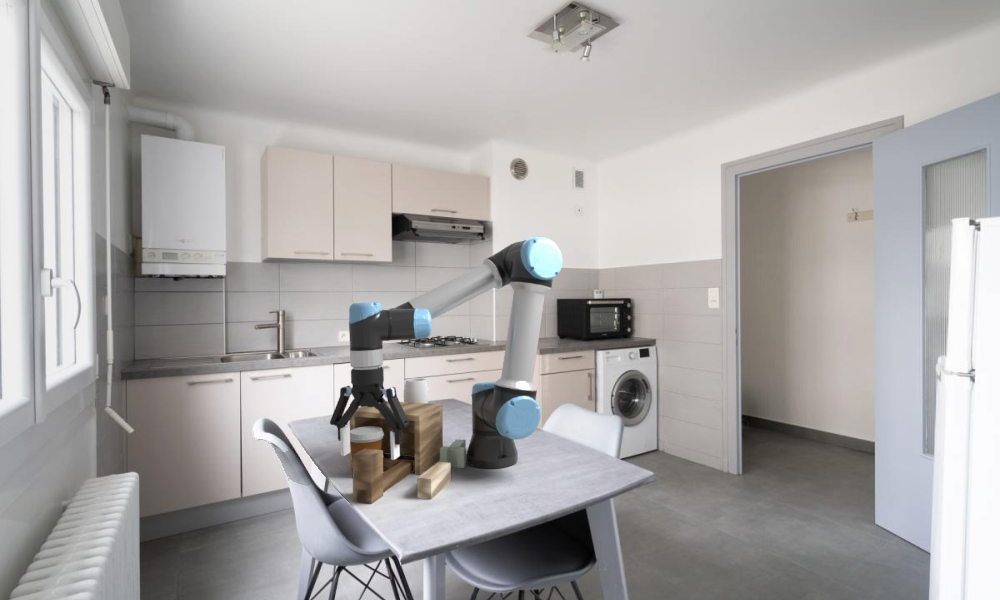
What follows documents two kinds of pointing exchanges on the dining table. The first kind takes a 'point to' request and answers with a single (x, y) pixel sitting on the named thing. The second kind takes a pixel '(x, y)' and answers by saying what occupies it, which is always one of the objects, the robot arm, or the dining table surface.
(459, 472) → the dining table surface
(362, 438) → the disposable coffee cup
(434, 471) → the beech stick
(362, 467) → the crook
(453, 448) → the tee stick
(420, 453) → the wooden storage bin
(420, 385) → the wineglass
